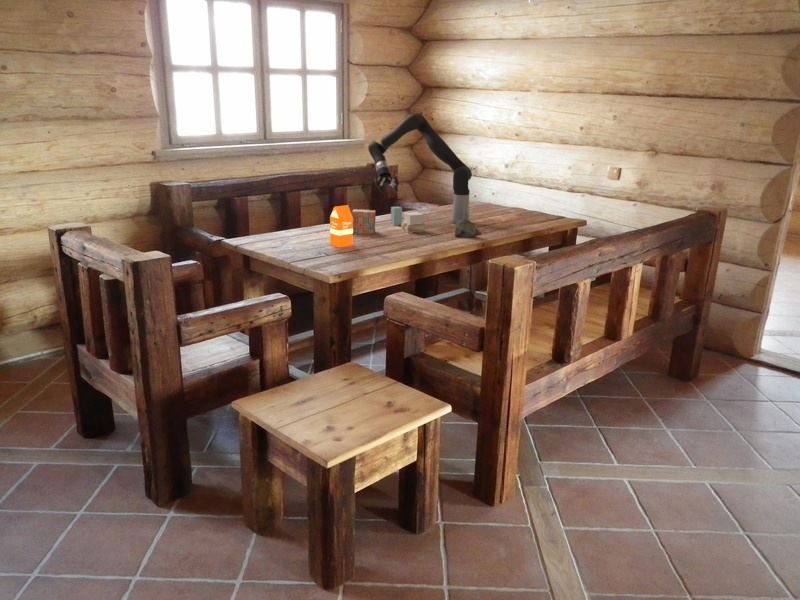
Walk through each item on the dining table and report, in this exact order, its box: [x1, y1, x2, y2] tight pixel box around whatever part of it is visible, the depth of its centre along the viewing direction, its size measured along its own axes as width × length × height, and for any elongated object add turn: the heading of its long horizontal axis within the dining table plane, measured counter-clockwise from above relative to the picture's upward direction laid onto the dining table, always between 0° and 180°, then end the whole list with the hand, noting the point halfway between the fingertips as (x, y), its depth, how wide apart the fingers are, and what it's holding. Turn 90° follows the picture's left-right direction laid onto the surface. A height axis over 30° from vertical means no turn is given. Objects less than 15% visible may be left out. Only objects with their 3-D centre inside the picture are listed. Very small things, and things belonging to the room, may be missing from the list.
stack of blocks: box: [351, 209, 376, 234], centre depth 376 cm, size 21×6×12 cm, turn 85°
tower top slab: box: [403, 211, 424, 224], centre depth 383 cm, size 8×8×5 cm
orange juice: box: [329, 204, 354, 248], centre depth 346 cm, size 8×9×20 cm
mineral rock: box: [454, 219, 482, 238], centre depth 370 cm, size 13×11×10 cm
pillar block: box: [390, 206, 403, 226], centre depth 399 cm, size 5×5×10 cm
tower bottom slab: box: [400, 220, 426, 234], centre depth 384 cm, size 10×10×5 cm
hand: (389, 192), depth 406 cm, fingers open, 8 cm apart
